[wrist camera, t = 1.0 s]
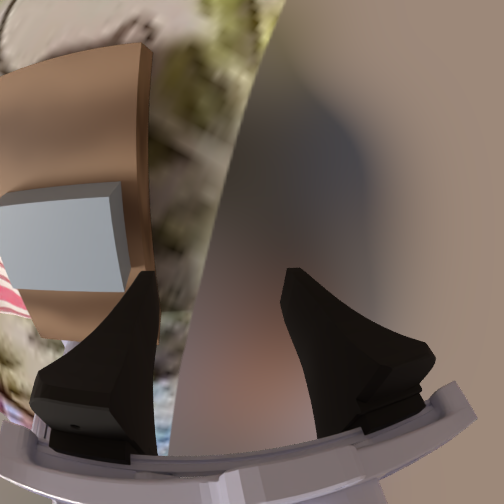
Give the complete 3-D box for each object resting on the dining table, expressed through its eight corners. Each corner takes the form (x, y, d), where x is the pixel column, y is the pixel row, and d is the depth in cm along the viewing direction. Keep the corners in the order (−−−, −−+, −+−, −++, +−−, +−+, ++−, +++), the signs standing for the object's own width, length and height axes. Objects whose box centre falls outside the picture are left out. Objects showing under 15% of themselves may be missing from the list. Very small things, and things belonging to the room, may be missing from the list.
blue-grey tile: (131, 268, 17) (124, 292, 15) (26, 267, 16) (12, 288, 14) (120, 181, 14) (108, 196, 12) (6, 192, 12) (-14, 208, 10)
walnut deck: (161, 312, 25) (158, 345, 22) (53, 309, 23) (41, 337, 19) (152, 52, 14) (141, 42, 10) (10, 82, 11) (-20, 85, 8)
